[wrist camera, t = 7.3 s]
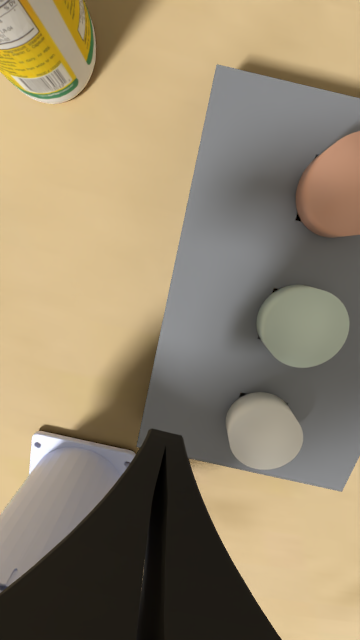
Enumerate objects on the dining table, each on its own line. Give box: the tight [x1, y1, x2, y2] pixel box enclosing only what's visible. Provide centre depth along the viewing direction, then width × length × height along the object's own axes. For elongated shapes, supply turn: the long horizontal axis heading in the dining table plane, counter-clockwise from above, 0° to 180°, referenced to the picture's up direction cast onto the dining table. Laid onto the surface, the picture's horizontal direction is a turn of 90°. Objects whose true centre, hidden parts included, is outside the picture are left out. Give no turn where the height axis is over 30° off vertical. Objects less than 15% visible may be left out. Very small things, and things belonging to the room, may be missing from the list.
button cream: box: [226, 392, 303, 470], centre depth 16 cm, size 4×4×4 cm
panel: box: [136, 64, 360, 492], centre depth 15 cm, size 21×14×2 cm, turn 168°
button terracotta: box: [296, 131, 360, 238], centre depth 12 cm, size 4×4×4 cm
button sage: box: [256, 285, 349, 368], centre depth 14 cm, size 4×4×4 cm
